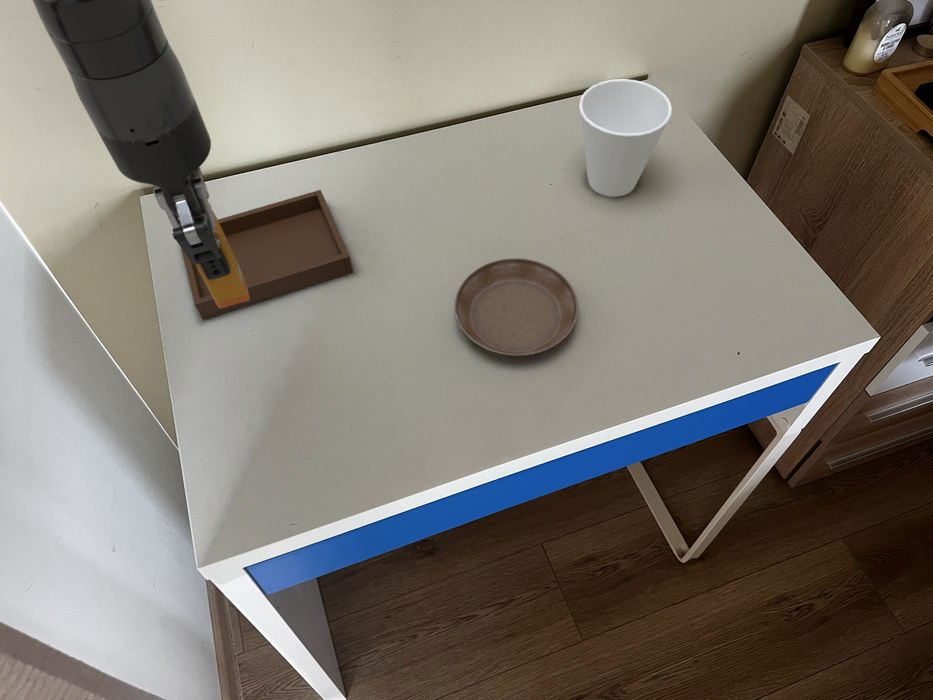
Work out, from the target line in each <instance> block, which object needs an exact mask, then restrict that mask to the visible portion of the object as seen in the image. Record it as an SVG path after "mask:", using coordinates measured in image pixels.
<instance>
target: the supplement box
mask: <svg viewBox="0 0 933 700" xmlns="http://www.w3.org/2000/svg"><path fill="white" fill-rule="evenodd" d="M212 212H213V214H214V217H215V222H216V226H215V228H213V229H214V232H215V234H216V236H217V239H219V240H220V243H221V244H220V247H221V249H222V252H223V254H224V256H225V258H226V261H227V263H228V265H229V268H230V274H229V275H227V276H224V277H220V278H217V279H213V280H210V279H207V277H206V275H205V273H204V271H203V269H202V267H201V265H200V263H199V264H197V265H196V266H197V268H198V270H199V272H200V274H201V276H202V277H203V279H204V281H205V283H206V285H207V287H208V289H209V291H210V293H211V295H212V297H213V299H214V301H215V303H216V305H217V307H218V308H224V307H227V306H230V305H234V304H237V303H241V302H246V301H249V300H250V297H249V293H248V289H247V285H246V281H245V278H244V276H243V273H242V271H241V269H240V267H239V265H238V263H237V260H236V258H235V256H234V254H233V252H232V249H231V247H230V245H229V243H228V241H227V239H226V237H225V235H224V232H223V230H222V228H221V226H220V224H219V222H218V218H217V215H216V214H215V212H214V210H213V209H212ZM204 214H205V212H204ZM204 214H201V215H200V216H199V217H201V216H203V215H204ZM196 218H197V217H196Z"/></svg>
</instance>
